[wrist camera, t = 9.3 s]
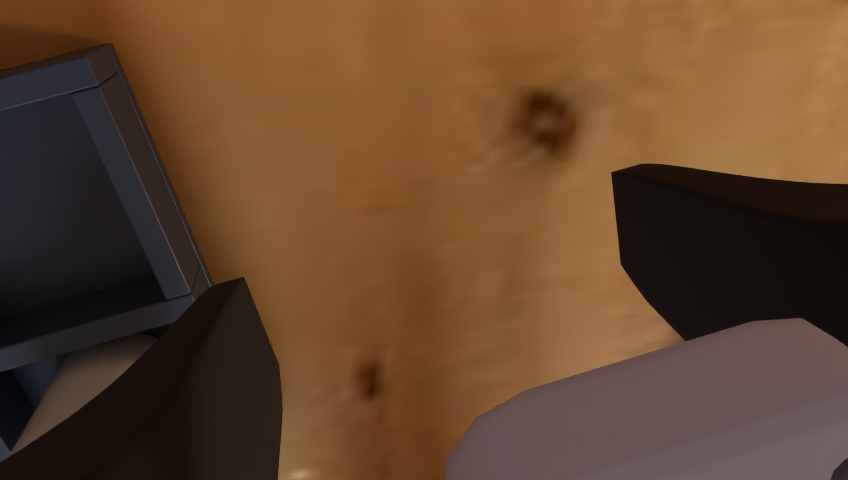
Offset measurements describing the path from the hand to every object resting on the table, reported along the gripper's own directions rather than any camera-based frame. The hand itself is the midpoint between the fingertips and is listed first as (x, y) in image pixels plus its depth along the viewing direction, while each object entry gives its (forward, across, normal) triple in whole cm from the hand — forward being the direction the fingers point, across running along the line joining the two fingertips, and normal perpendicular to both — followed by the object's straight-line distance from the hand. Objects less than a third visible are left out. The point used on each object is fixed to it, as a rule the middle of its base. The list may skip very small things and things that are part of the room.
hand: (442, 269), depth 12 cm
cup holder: (+10, +11, +3) cm, 15 cm away
